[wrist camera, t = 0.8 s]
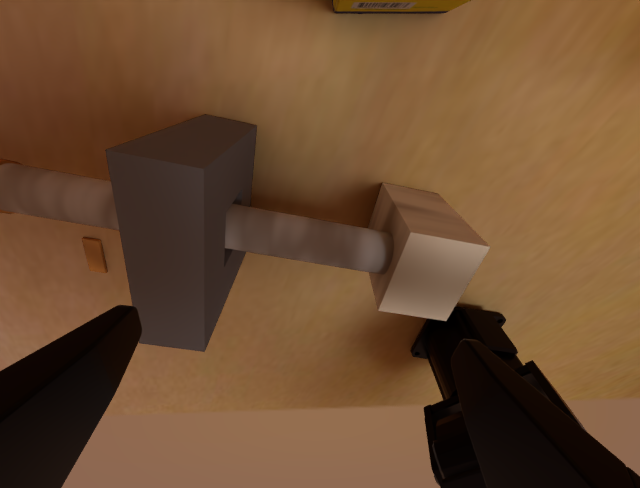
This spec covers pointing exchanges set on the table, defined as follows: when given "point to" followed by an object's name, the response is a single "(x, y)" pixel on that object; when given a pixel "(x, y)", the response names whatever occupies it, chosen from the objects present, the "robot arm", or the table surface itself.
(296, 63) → the table surface
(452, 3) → the supplement box
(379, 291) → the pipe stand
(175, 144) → the square block with hole
